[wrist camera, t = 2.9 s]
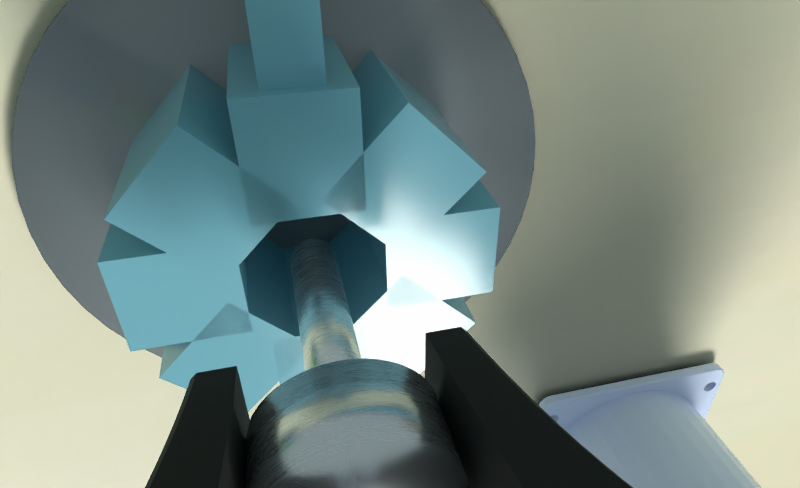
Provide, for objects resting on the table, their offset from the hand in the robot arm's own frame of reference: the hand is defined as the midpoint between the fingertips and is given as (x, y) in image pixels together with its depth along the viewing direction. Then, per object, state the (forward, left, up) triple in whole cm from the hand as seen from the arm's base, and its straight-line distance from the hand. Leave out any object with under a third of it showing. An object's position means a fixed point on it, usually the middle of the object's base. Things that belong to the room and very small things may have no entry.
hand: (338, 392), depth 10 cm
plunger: (0, 0, -4) cm, 4 cm away
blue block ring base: (0, 0, -7) cm, 7 cm away
